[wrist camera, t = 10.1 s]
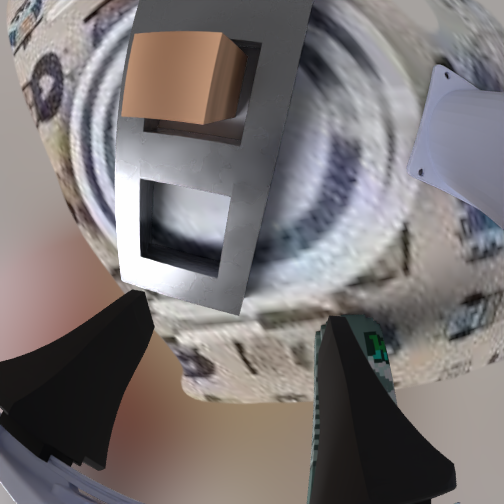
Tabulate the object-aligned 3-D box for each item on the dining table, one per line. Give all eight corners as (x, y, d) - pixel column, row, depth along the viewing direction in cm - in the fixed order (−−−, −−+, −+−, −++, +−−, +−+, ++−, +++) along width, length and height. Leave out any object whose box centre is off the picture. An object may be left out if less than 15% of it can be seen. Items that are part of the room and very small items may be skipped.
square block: (248, 56, 13) (222, 32, 8) (235, 117, 15) (203, 124, 10) (185, 51, 13) (134, 33, 8) (174, 108, 15) (121, 116, 10)
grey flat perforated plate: (329, -72, 6) (332, -86, 4) (243, 298, 22) (239, 315, 20) (187, -78, 6) (177, -89, 4) (132, 267, 22) (121, 280, 20)
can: (372, 357, 24) (385, 501, 11) (312, 359, 25) (304, 508, 12) (386, 313, 21) (418, 487, 8) (317, 315, 22) (312, 502, 9)
